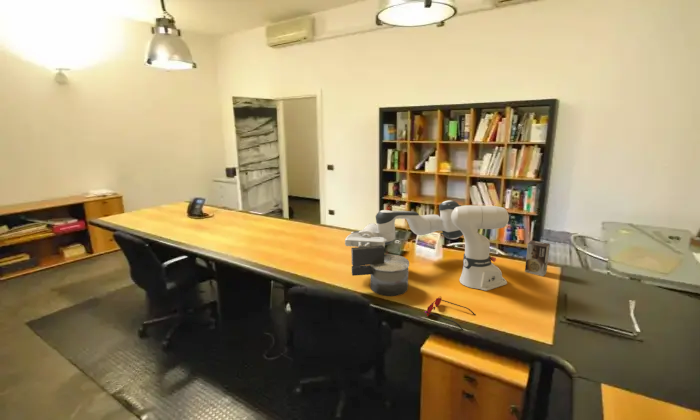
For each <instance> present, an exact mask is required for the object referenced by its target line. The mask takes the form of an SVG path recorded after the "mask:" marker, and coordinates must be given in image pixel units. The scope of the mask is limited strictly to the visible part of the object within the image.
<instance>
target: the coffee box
mask: <svg viewBox="0 0 700 420" xmlns="http://www.w3.org/2000/svg"><path fill="white" fill-rule="evenodd" d="M550 246H551V243H548V242H542V241H536V240H532V239H531V240H530V241H529V242H528V243H527V245H526V247H527V248H526V258H525V268H524V272H525V273H529V274H532V275H537V276H539V277H540V276H541V277H544V276H546V274H547V272H548V262H549V254H550Z"/></svg>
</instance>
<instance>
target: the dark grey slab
mask: <svg viewBox="0 0 700 420" xmlns="http://www.w3.org/2000/svg"><path fill="white" fill-rule="evenodd" d="M351 265H352V266H363V265H370V266H371V267H372V268H374V269H376V270H378V271H383V272H399V271H403V270H405V269H407V268H408V269H409V267H410V260H408V259H407V258H406V257H405V256H402V255H397V254H389V253H387V254H385V247H384V246H383V245H379V246H367V247H351Z"/></svg>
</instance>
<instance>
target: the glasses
mask: <svg viewBox="0 0 700 420" xmlns="http://www.w3.org/2000/svg"><path fill="white" fill-rule="evenodd" d="M442 302H445V303H448V304H451V305H455V306H457V307H460V308H463V309H467V310H468V311H469V312H471V313H472V315H474V316H477V314H476V313H474V312H473V310H471V309H470V308H469V307H466V306H464V305H463V306H462V305H461V304H457V303H454V302H450V301H447V300H444V299H442V296H439V297H437V298H435V300H434V301H433V302H431V304H430V305H429V306H427V309H426V310H427V311H424V313H425V314H426V316H427V317H429V316H430V315H432V316H434V317H437V318H440V319H443V320H446V321H448V322H452V323H453V324H455V325H457V326H458V327H459V328H460V330H461V331H465V329H464V328H463V327H462V326H461V325H459V323H457V322H456V321H454V320H451V319H448V318H445V317H442V316H440V315H437V314H433V313H431V312H432V311H433V310H436V308H438V307H439V306H440V304H441V303H442Z"/></svg>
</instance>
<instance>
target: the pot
mask: <svg viewBox="0 0 700 420" xmlns="http://www.w3.org/2000/svg"><path fill="white" fill-rule="evenodd" d="M351 275H352V276H353V277H354V276H366V275H367V276H369V275H370V289H371V291H372V292H373V293H375V294H377V295H378V296H379V295H380V296H384V297H397V296H402V295H403V294H405V293H406V292H408V289H409V267H408V268H407V269H405V270H403V271H399V272H383V271H378V270H376V269H374V268H372V267H371V266H370V265H362V266H353V265H352V266H351Z"/></svg>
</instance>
